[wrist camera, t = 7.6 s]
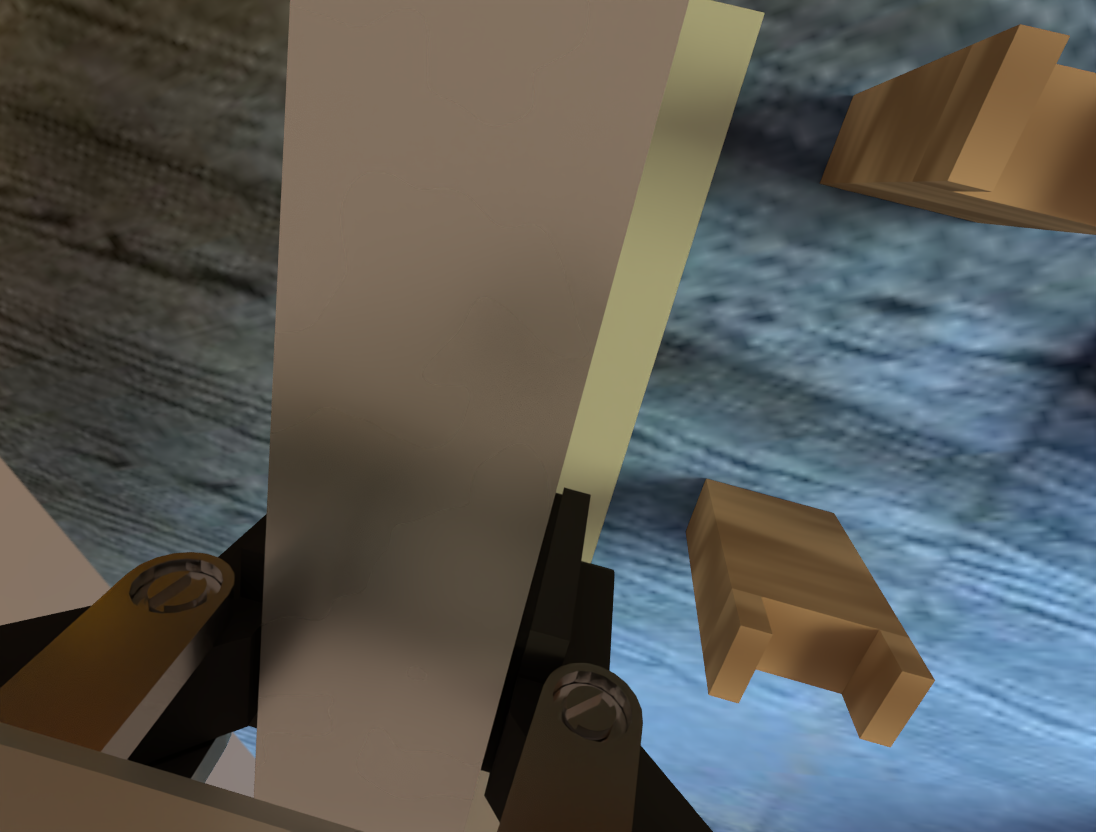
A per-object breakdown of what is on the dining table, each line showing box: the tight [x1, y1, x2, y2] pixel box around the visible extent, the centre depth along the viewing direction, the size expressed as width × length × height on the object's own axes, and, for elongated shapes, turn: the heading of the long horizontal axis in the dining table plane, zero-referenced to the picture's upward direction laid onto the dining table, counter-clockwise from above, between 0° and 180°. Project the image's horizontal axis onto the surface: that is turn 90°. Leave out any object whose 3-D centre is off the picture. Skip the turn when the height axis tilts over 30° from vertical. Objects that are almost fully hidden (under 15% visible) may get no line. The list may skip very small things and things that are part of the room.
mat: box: [556, 0, 764, 563], centre depth 25 cm, size 26×8×1 cm, turn 167°
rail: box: [254, 0, 689, 832], centre depth 9 cm, size 22×3×4 cm, turn 167°
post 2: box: [820, 24, 1096, 235], centre depth 17 cm, size 3×6×10 cm, turn 77°
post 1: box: [686, 479, 935, 747], centre depth 23 cm, size 3×6×10 cm, turn 77°
